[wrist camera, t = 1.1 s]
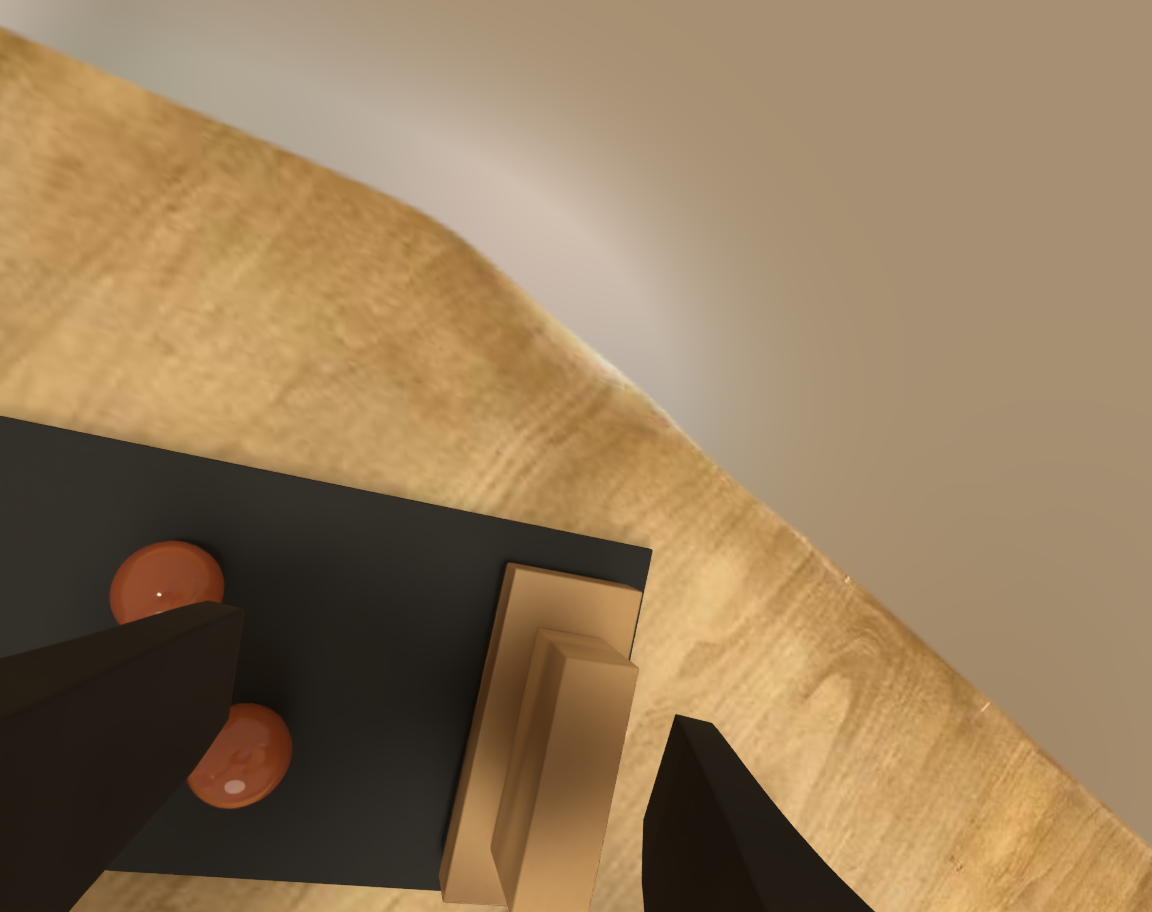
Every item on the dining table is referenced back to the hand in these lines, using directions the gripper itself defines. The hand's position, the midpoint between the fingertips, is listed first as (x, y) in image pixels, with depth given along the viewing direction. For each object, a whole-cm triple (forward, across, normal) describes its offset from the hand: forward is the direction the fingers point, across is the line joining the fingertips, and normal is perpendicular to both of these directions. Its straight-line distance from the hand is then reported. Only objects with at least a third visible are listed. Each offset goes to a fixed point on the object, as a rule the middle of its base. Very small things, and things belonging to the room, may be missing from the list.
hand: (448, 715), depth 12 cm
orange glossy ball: (+9, +10, +4) cm, 14 cm away
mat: (+11, +8, +7) cm, 15 cm away
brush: (+13, -2, +8) cm, 15 cm away
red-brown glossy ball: (+9, +7, +9) cm, 14 cm away
